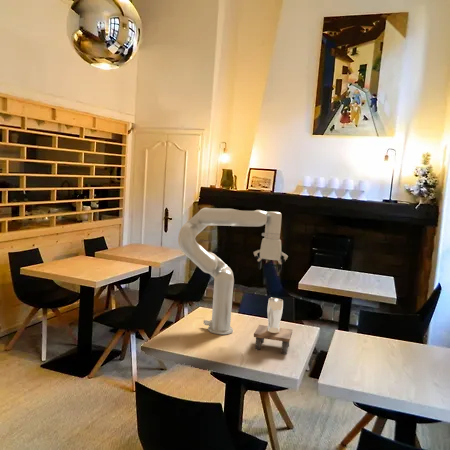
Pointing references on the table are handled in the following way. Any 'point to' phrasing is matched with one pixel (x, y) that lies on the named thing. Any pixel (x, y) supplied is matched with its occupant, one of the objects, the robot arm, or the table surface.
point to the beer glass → (274, 315)
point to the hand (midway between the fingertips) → (269, 270)
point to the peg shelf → (272, 337)
